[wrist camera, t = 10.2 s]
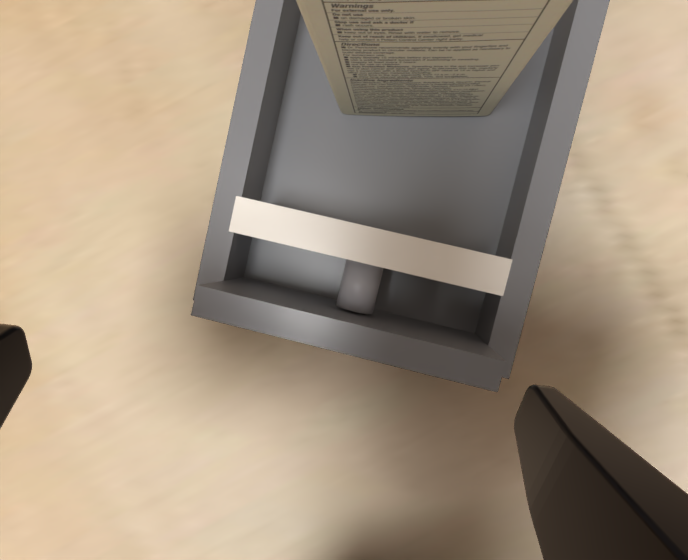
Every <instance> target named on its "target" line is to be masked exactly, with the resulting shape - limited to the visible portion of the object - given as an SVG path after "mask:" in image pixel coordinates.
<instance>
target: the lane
mask: <svg viewBox="0 0 688 560" xmlns="http://www.w3.org/2000/svg"><path fill="white" fill-rule="evenodd" d="M609 1H610V0H573V1H572V3H571V4H570V5H569V7H568V8H567V10H566V11H565V12H564V14H563V15H562V17H561V18H560V19H559V21H558V22H557V24H556V25H555V26H554V28H553V29H552V30H551V31H550V33H549V34H548V35H547V37H546V38H545V39H544V41H543V42H542V44H541V45H540V46H539V48H538V49H537V51H536V52H535V53H534V55H533V56H532V58H531V59H530V60H529V62H528V63H527V64H526V66H525V67H524V68H523V70H522V71H521V72H520V74H519V75H518V77H517V78H516V79H515V81H514V82H513V83H512V85H511V86H510V88H509V89H508V90H507V92H506V93H505V95H504V96H503V97H502V99H501V100H500V102H499V103H498V104H497V106H496V107H495V108H494V110H493V111H492V112H491V114H489V115H487V116H374V115H347V114H343V113H342V112H341V111H340V108H339V106H338V103H337V101H336V99H335V96H334V94H333V91H332V88H331V86H330V84H329V81H328V79H327V76H326V74H325V71H324V69H323V66H322V64H321V61H320V59H319V56H318V54H317V51H316V49H315V46H314V44H313V41H312V39H311V37H310V34H309V32H308V29H307V27H306V24H305V22H304V19H303V16H302V14H301V11H300V9H299V7H298V4H297V2H296V0H256V2H255V7H254V12H253V17H252V21H251V26H250V31H249V36H248V40H247V45H246V50H245V55H244V59H243V64H242V69H241V74H240V78H239V83H238V88H237V93H236V98H235V102H234V107H233V112H232V117H231V121H230V126H229V131H228V136H227V140H226V145H225V150H224V155H223V159H222V164H221V169H220V174H219V178H218V183H217V188H216V193H215V198H214V202H213V207H212V212H211V217H210V221H209V226H208V231H207V236H206V240H205V245H204V250H203V255H202V259H201V264H200V269H199V274H198V278H197V283H196V288H195V293H194V298H193V300H194V303H193V308H192V313H191V315H192V316H196V317H200V318H204V319H208V320H212V321H216V322H220V323H224V324H228V325H232V326H236V327H240V328H244V329H248V330H252V331H256V332H260V333H264V334H268V335H272V336H276V337H280V338H284V339H288V340H292V341H296V342H299V343H303V344H307V345H311V346H315V347H319V348H323V349H327V350H331V351H335V352H339V353H343V354H347V355H351V356H355V357H359V358H363V359H367V360H371V361H375V362H379V363H383V364H387V365H391V366H395V367H399V368H403V369H407V370H411V371H415V372H419V373H423V374H427V375H431V376H435V377H439V378H443V379H447V380H451V381H454V382H458V383H462V384H466V385H470V386H474V387H478V388H482V389H486V390H490V391H494V392H498V390H499V386H500V382H501V378H502V377H503V378H507V379H509V377H510V373H511V369H512V366H513V362H514V358H515V354H516V351H517V347H518V343H519V339H520V336H521V332H522V328H523V324H524V321H525V317H526V313H527V309H528V305H529V302H530V298H531V294H532V290H533V287H534V283H535V279H536V275H537V272H538V268H539V264H540V260H541V257H542V253H543V249H544V245H545V242H546V238H547V234H548V230H549V227H550V223H551V219H552V215H553V212H554V208H555V204H556V200H557V197H558V193H559V189H560V185H561V181H562V178H563V174H564V170H565V166H566V163H567V159H568V155H569V151H570V148H571V144H572V140H573V136H574V133H575V129H576V125H577V121H578V118H579V114H580V110H581V106H582V103H583V99H584V95H585V91H586V88H587V84H588V80H589V76H590V73H591V69H592V65H593V61H594V57H595V54H596V50H597V46H598V42H599V39H600V35H601V31H602V27H603V24H604V20H605V16H606V12H607V9H608V5H609ZM236 196H239V197H244V198H248V199H252V200H257V201H261V202H265V203H270V204H274V205H278V206H283V207H287V208H291V209H296V210H300V211H304V212H308V213H313V214H317V215H321V216H326V217H330V218H334V219H339V220H343V221H347V222H352V223H356V224H360V225H365V226H369V227H373V228H378V229H382V230H386V231H391V232H395V233H399V234H404V235H408V236H412V237H417V238H421V239H425V240H430V241H434V242H438V243H443V244H447V245H451V246H456V247H460V248H464V249H469V250H473V251H477V252H482V253H486V254H490V255H495V256H499V257H503V258H508V259H512V264H511V268H510V272H509V276H508V279H507V283H506V287H505V291H504V295H503V296H500V295H496V294H491V293H487V292H483V291H479V290H475V289H470V288H466V287H462V286H458V285H453V284H449V283H445V282H441V281H437V280H432V279H428V278H424V277H420V276H415V275H411V274H407V273H403V272H399V271H394V270H390V269H386V268H383V273H382V277H381V281H380V285H379V289H378V293H377V298H376V302H375V306H374V310H373V314H363V313H358V312H353V311H349V310H346V309H343V308H340V307H338V306H336V302H337V298H338V294H339V290H340V285H341V281H342V277H343V272H344V268H345V264H346V260H347V259H344V258H339V257H335V256H331V255H327V254H322V253H318V252H314V251H310V250H306V249H301V248H297V247H293V246H289V245H284V244H280V243H276V242H272V241H268V240H263V239H259V238H255V237H251V236H246V235H242V234H238V233H234V232H230V231H229V227H230V222H231V218H232V213H233V208H234V204H235V199H236Z"/></svg>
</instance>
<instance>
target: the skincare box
mask: <svg viewBox="0 0 688 560" xmlns="http://www.w3.org/2000/svg"><path fill="white" fill-rule="evenodd" d="M572 1H573V0H296V2H297V4H298V7H299V9H300V11H301V14H302V16H303V19H304V22H305V24H306V27H307V29H308V32H309V34H310V37H311V39H312V41H313V44H314V46H315V49H316V51H317V54H318V56H319V59H320V61H321V64H322V66H323V69H324V71H325V74H326V76H327V79H328V81H329V84H330V86H331V88H332V91H333V94H334V96H335V99H336V101H337V103H338V106H339V108H340V111H341V112H342V113H343V114H347V115H374V116H487V115H489V114H491V112H492V111H493V110H494V108H495V107H496V106H497V104H498V103H499V102H500V100H501V99H502V97H503V96H504V95H505V93H506V92H507V90H508V89H509V88H510V86H511V85H512V83H513V82H514V81H515V79H516V78H517V77H518V75H519V74H520V72H521V71H522V70H523V68H524V67H525V66H526V64H527V63H528V62H529V60H530V59H531V58H532V56H533V55H534V53H535V52H536V51H537V49H538V48H539V46H540V45H541V44H542V42H543V41H544V39H545V38H546V37H547V35H548V34H549V33H550V31H551V30H552V29H553V28H554V26H555V25H556V24H557V22H558V21H559V19H560V18H561V17H562V15H563V14H564V12H565V11H566V10H567V8H568V7H569V5H570V4H571V3H572Z"/></svg>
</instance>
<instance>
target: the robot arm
mask: <svg viewBox="0 0 688 560" xmlns="http://www.w3.org/2000/svg"><path fill="white" fill-rule="evenodd" d="M31 370H32V361H31V357H30V353H29V349H28V345H27V340H26V336H25V333H24V331H23V329H22V328H21V327H19V326H16V325H8V324H0V428H1V427H2V425H3V423H4V421H5V420H6V418H7V416H8V414H9V412H10V411H11V409H12V407H13V405H14V404H15V402H16V400H17V398H18V396H19V395H20V393H21V391H22V389H23V387H24V386H25V384H26V382H27V380H28V379H29V376H30V374H31ZM514 430H515V436H516V441H517V447H518V452H519V457H520V463H521V468H522V474H523V479H524V485H525V490H526V496H527V501H528V505H529V510H530V514H531V517H532V521H533V525H534V528H535V531H536V535H537V538H538V541H539V545H540V548H541V552H542V555H543V558H544V560H688V494H687V493H686V492H684V491H683V490H682V489H681V488H679V487H678V486H677V485H676V484H674V483H673V482H672V481H671V480H669V479H668V478H667V477H666V476H664V475H663V474H662V473H661V472H659V471H658V470H657V469H656V468H654V467H653V466H652V465H651V464H649V463H648V462H647V461H646V460H644V459H643V458H642V457H641V456H639V455H638V454H637V453H636V452H634V451H633V450H632V449H631V448H629V447H628V446H627V445H626V444H624V443H623V442H622V441H621V440H619V439H618V438H617V437H616V436H614V435H613V434H612V433H611V432H609V431H608V430H607V429H606V428H604V427H603V426H602V425H601V424H599V423H598V422H597V421H596V420H594V419H593V418H592V417H591V416H589V415H588V414H587V413H586V412H584V411H583V410H582V409H581V408H579V407H578V406H577V405H576V404H574V403H573V402H572V401H571V400H569V399H568V398H567V397H566V396H564V395H563V394H562V393H561V392H559V391H558V390H557V389H555V388H553V387H550V386H541V385H531V386H530V387H529V388H528V389H527V391H526V393H525V395H524V397H523V400H522V402H521V405H520V407H519V409H518V412H517V414H516V417H515V422H514Z"/></svg>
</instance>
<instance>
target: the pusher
mask: <svg viewBox="0 0 688 560" xmlns="http://www.w3.org/2000/svg"><path fill="white" fill-rule="evenodd" d="M229 231H230V232H234V233H238V234H242V235H246V236H251V237H255V238H259V239H263V240H268V241H272V242H276V243H280V244H284V245H289V246H293V247H297V248H301V249H306V250H310V251H314V252H318V253H322V254H327V255H331V256H335V257H339V258H344V259H347V260H346V264H345V268H344V272H343V277H342V281H341V285H340V290H339V294H338V298H337V302H336V306H338V307H340V308H343V309H346V310H349V311H353V312H358V313H363V314H373V310H374V306H375V302H376V298H377V293H378V289H379V285H380V281H381V277H382V273H383V268H386V269H390V270H394V271H399V272H403V273H407V274H411V275H415V276H420V277H424V278H428V279H432V280H437V281H441V282H445V283H449V284H453V285H458V286H462V287H466V288H470V289H475V290H479V291H483V292H487V293H491V294H496V295H500V296H503V295H504V291H505V287H506V283H507V279H508V276H509V272H510V268H511V264H512V259H508V258H503V257H499V256H495V255H490V254H486V253H482V252H477V251H473V250H469V249H464V248H460V247H456V246H451V245H447V244H443V243H438V242H434V241H430V240H425V239H421V238H417V237H412V236H408V235H404V234H399V233H395V232H391V231H386V230H382V229H378V228H373V227H369V226H365V225H360V224H356V223H352V222H347V221H343V220H339V219H334V218H330V217H326V216H321V215H317V214H313V213H308V212H304V211H300V210H296V209H291V208H287V207H283V206H278V205H274V204H270V203H265V202H261V201H257V200H252V199H248V198H244V197H239V196H236V199H235V204H234V208H233V213H232V218H231V222H230V227H229Z"/></svg>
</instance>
